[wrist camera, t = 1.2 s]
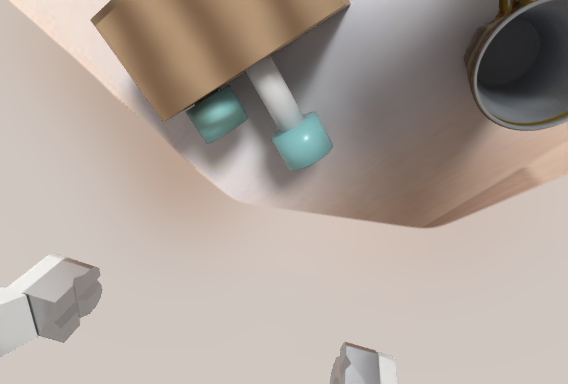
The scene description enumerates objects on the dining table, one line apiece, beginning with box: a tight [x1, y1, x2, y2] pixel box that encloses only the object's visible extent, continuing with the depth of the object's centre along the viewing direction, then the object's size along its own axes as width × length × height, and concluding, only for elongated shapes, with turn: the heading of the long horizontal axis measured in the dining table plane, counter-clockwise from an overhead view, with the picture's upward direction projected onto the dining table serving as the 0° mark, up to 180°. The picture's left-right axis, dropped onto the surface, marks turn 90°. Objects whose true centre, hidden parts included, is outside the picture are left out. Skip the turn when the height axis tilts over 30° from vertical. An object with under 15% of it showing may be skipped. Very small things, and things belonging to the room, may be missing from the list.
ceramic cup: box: [464, 0, 568, 131], centre depth 29 cm, size 13×10×10 cm
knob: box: [245, 54, 333, 171], centre depth 35 cm, size 6×14×6 cm, turn 31°
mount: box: [91, 0, 350, 143], centre depth 33 cm, size 20×15×11 cm
